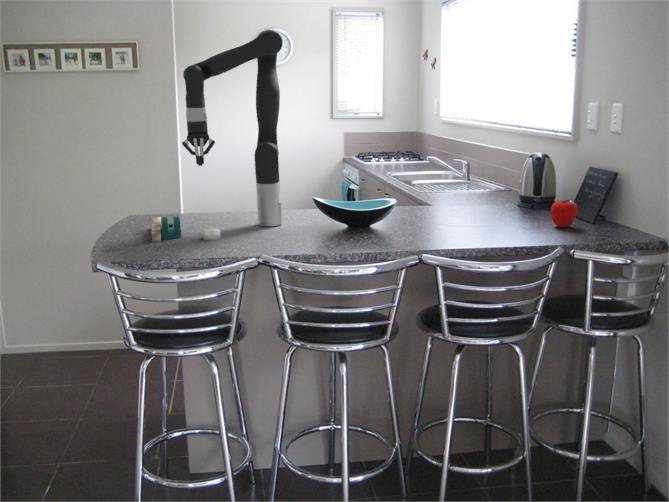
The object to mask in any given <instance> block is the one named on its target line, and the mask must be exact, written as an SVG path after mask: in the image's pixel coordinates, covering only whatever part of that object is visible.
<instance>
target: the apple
mask: <svg viewBox="0 0 669 502" xmlns="http://www.w3.org/2000/svg"><path fill="white" fill-rule="evenodd" d="M578 210H579V209H578V205H577V204H576V203H574V202H573V201H569V200H568V201H567V200H556V201H554V202H553V203H552V205H551V208H550V217H551V220H552V223H553V224H554V225H555V226H556V227H558V228H569V227H571V226H572V225H573V224H574V221H575V220H576V218H577V215H578V212H579V211H578Z"/></svg>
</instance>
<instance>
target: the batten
mask: <svg viewBox="0 0 669 502" xmlns="http://www.w3.org/2000/svg"><path fill="white" fill-rule="evenodd" d="M161 217H162V216H153V219H152V224H151V241H152V243H157V242H158V243H159V242H162V225H161Z"/></svg>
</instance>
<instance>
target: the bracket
mask: <svg viewBox="0 0 669 502" xmlns="http://www.w3.org/2000/svg"><path fill="white" fill-rule="evenodd" d="M160 217H161V225H162V236H161V238H162V240H168V239H181V238H182V231H181V220H180V219H181V218H180V215H173V217H172V218H173V223H171V222H170V223H168V221H169V220H168V217H167V216H160Z"/></svg>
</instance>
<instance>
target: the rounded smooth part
mask: <svg viewBox="0 0 669 502" xmlns="http://www.w3.org/2000/svg"><path fill="white" fill-rule="evenodd" d="M202 239H203V240H204V241H217V240H220V239H221V228H220V227H206V228H203V229H202Z"/></svg>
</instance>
